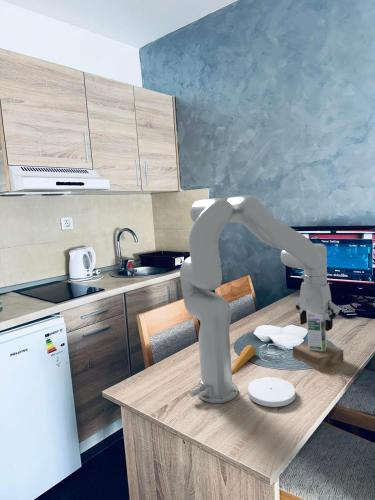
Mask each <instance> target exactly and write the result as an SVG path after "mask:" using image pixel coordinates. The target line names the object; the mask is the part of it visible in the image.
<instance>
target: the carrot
mask: <svg viewBox="0 0 375 500" xmlns="http://www.w3.org/2000/svg"><path fill="white" fill-rule="evenodd" d="M255 355H256V347H254V345H252V344H248V345H245V347H244V348H243V349H242V351H241V353H240V355H239V356H238V357H237V359H236V362H235V363H234V365H233V367H231V371H232V375H233V374H234V373H235V372H236V371H238V370H239V369H240V368H241V367H243V366H244V365H245V363H247V362H248V361H249V360H250V359H251V358H252V357H254V356H255Z"/></svg>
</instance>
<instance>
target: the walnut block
mask: <svg viewBox="0 0 375 500" xmlns="http://www.w3.org/2000/svg"><path fill="white" fill-rule="evenodd" d="M293 358H295V359H298V360H299V361H302V362H304V363H306V364H307V365H309V366H311V367H313V368H314V369H313V368H312V369H313V370H315V371H316V372H321V371H323V370H327V369H329V368H332V367H334V366H336V365H339V364H342V363H344V349H342V348H340V347H337V346H334V345H332V344H329V343H327V347H326V351H325V352H323V351H315V350H309V348H308V341H307V342H304V343H300V344H298V345H294V346H292V359H293ZM295 359H294V360H295ZM299 361H298V362H299ZM307 365H306V366H307ZM309 366H308V367H309ZM311 367H310V368H311Z"/></svg>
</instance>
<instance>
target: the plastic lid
mask: <svg viewBox="0 0 375 500" xmlns="http://www.w3.org/2000/svg"><path fill="white" fill-rule="evenodd" d="M246 388H247V396H248V398H249V399H250V400H251V401H252V402H253V403H256V404H257V405H260V406H264V407H271V408H277V407H280V408H281V407H283V406H284V407H285V406H287V405H289V404H291V403H293V401H294V400H295V399H296V388H295V385H293V384H292V383H290V382H289V381H287V380H286V379H282V378H278V377H272V376H271V377H270V376H268V377H260V378H256V379H253V380H252V381H250V382H249V383H248V384H247V387H246Z"/></svg>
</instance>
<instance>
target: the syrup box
mask: <svg viewBox="0 0 375 500" xmlns="http://www.w3.org/2000/svg"><path fill="white" fill-rule="evenodd" d="M306 313H307V323H306V326H307V342H308V348H309V350H315V351H323V352H325V351H326V347H327V344H328V337H327V336H328V335H327V331H326V330H325V320H326V319H327V318H326V317H325V315H324V314H317V313H314V312H311V311H308V310H307V312H306Z"/></svg>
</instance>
